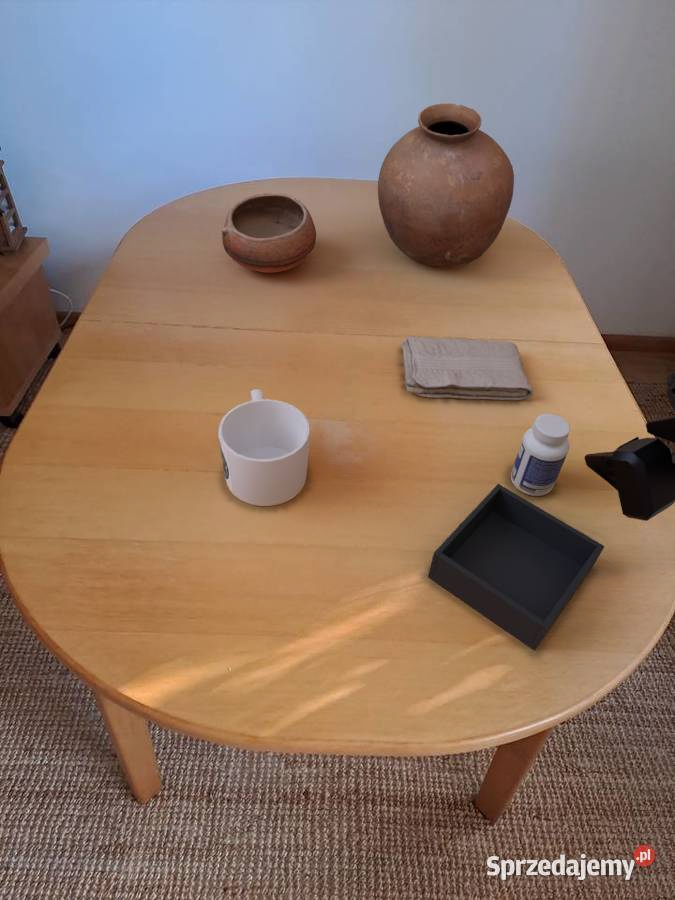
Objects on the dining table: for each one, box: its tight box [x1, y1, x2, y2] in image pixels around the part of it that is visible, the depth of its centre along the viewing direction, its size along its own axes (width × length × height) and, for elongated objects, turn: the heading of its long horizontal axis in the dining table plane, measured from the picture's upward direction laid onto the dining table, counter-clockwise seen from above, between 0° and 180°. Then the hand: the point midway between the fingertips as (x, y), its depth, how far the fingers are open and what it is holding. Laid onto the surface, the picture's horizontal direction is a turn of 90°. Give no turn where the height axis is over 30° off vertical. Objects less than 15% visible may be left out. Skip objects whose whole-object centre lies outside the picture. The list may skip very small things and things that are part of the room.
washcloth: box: [400, 335, 534, 401], centre depth 97 cm, size 12×18×3 cm, turn 91°
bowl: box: [221, 192, 317, 273], centre depth 114 cm, size 16×16×10 cm
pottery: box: [377, 103, 515, 267], centre depth 114 cm, size 23×23×25 cm
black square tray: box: [427, 483, 605, 652], centre depth 72 cm, size 13×13×4 cm
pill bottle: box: [510, 413, 571, 497], centre depth 81 cm, size 5×5×10 cm
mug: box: [217, 388, 311, 507], centre depth 80 cm, size 13×10×8 cm
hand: (617, 443), depth 67 cm, fingers open, 9 cm apart
